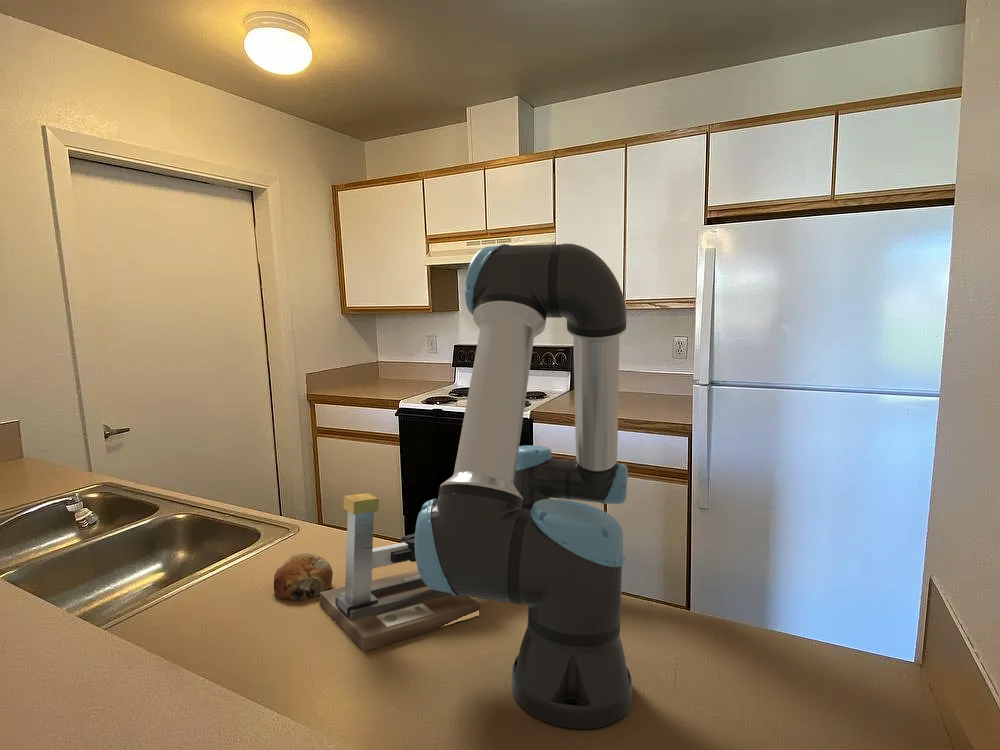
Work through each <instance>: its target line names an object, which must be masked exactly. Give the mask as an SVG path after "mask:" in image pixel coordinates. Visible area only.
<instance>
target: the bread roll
mask: <svg viewBox="0 0 1000 750" xmlns="http://www.w3.org/2000/svg"><path fill="white" fill-rule="evenodd" d="M273 577H274V578H273V592H274V594H275V595H276V596H277V597H278V598H280V599H283V600H290V601H298V600H300V601H303V600H306V599H307V600H308V599H312V598H315V597H318V596H320V592H323V591H327V590H329V589H330V588H331V587H332V583H333V569H332V566H331V565H330V563H329V561H327V560H326V558H323V557H321V556H320V555H317V554H316V553H312V552H305V553H294V554H293V555H291V556H290V557H289V558H288V559H286V560H285V561H284V562H283V563H282V564H281V565H280V566H278V567H277V569H276V572H274V576H273Z"/></svg>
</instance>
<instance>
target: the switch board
mask: <svg viewBox="0 0 1000 750" xmlns="http://www.w3.org/2000/svg"><path fill="white" fill-rule="evenodd" d="M371 594H372V595H374V596H375V597H376V598H377V599H378V604H374V605H370V606H366V607H363V608H359V609H355V610H351V611H350V614H349V615H347V614H346V613H345V612H344V611H343V610H342V609H341V608H340V607H339V606H338V605H337V602H338V597H342V596H345V586H342V587H338V588H332V589H328V590H327V591H323V592H320V595H319V605H320V606H321V607H322V609H323V610H324V611H325V612H326V613H327V614H328V615H329V616H330V618H332V619H333V621H335V622H336V624H337V625H338V626H339V627H340V628H341V629H342V631H343V632H345V634H347V636H348V637H349V638H350V639H351V640H352V641H353V642H354V644H356V645H357V646H358V648H359V649H360V650H361V651H362V652H363V653H364V652H367V651H370V650H374V649H377V648H380V647H384V646H387V645H389V644H390V645H391V644H393V643H397V642H400V641H404V640H406V639H410V638H413V637H416V636H419V635H422V634H423V635H424V634H426V633H430V632H433V631H435V630H438V629H437V628H439V629H441V628H440V627H442V626H444V625H445V624H448V623H450V622H452V621H454V620H457V619H459V618H461V617H463V616H466V615H468V614H471V613H473V612H476V611H478V610H480V609H481V608H480V606H481V604H480V603H479V602H477V600H475V599H473V598H472V597H468V596H454V595H452V594H451V593H446V592H441V591H437V590H433V589H431V588H429V587H428V586H427V585H426V584H425V583H424V582H423V580H422V579H421V577H420V574H419V572H418V569H416V570H412V571H408V572H404V573H399V574H395V575H389V576H385V577H382V578H377V579H372V580H371ZM442 628H443V627H442Z"/></svg>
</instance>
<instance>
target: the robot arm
mask: <svg viewBox="0 0 1000 750" xmlns="http://www.w3.org/2000/svg"><path fill="white" fill-rule="evenodd" d="M466 272H467V273H466V277H465V286H466V288H465V290H464V291H465V292H464V298H465V304H466V308H467V310H468V312H469V314H471V315H472V320H473V322H474V324H475V325H476V326H477V327H478V329H479V334H478V339H477V345H476V350H475V356H474V361H473V367H472V371H471V377H470V383H469V389H468V393H467V400H466V404H465V411H464V414H463V415H464V417H463V421H462V427H461V432H460V436H459V437H460V438H459V444H458V449H457V455H456V459H455V464H454V470H453V474H452V475H451V477H449V478H448V479H446V480H445V481H444V482H442V483H441V484H440V486H439V491H438V497H437V498H433V499H432V498H431V499H429V500H427V501H426V502H424V503H423V504H422V506H421V510H420V511H419V512H418V515H417V518H416V522H415V523H416V524H415V532H414V533H412V534H408V535H405V536H402V537H401V540H400V542H399V543H393V544H387V545H383V546H378V547H373V550H372V570H374V569H377V568H382V567H386V566H392V565H395V564H396V565H397V564H401V563H406V562H412V563H414V562H415V563H416V566H417V570H418V572H419V574H420V577H421V579H422V580H423V582H424V583H425V584H426V585H427V586H428V587H429V588H431V589H433V590H437V591H441V592H446V593H451V594H452V595H454V596H468V597H470V598H476V599H482V600H487V601H488V600H489V601H494V602H502V603H506V604H507V603H508V604H515V605H522V606H527V610H528V611H527V626H526V629H525V632H524V634H523V638H522V641H521V644H520V647H519V651H518V654H517V656H516V657H515V659H514V661H513V664H512V668H511V669H512V671H511V692H512V695H513V697H514V699H515V702H517V703H518V704H519V706H520V707H521V708H522V709H523V710H524V711H526V712H527V713H529V714H530V715H531V716H533V717H535V718H537V719H538V720H541V721H542V722H544V723H548V724H551V725H554V726H557V727H562V728H566V729H567V728H568V729H573V730H574V729H576V730H590V729H597V728H598V729H599V728H603V727H606V726H607V727H608V726H609V725H613V724H614V723H617V722H618V721H620V720H621V719H623V717H625V716H626V715H627V713H628V712H629V710H630V709H631V706H632V703H633V702H632V701H633V700H632V699H633V680H632V676H631V672H630V670H629V668H628V667H627V661H626V657H625V653H624V652H625V651H624V648H623V644H622V640H621V639H622V638H621V619H622V618H621V617H622V615H621V614H622V589H623V587H622V586H623V585H622V584H623V566H624V565H625V560H626V557H625V553H624V531H623V528H622V526H621V524H620V522H619V521H618V520H617V519H616V518H615V517H614V516H612V515H611V514H610V513H608V512H607V511H605V510H602V509H601V508H599V507H595V506H592V505H590V504H587V503H586V504H585V503H582V502H589V503H600V504H601V505H604V504H607V505H612V504H613V505H621V504H624V503H625V502H626V500H627V497H628V496H627V493H628V479H629V478H628V472H629V471H628V470H629V469H628V466H627V465H626V464H623V463H619V462H618V441H619V440H618V436H619V435H618V434H619V433H618V431H619V429H618V428H619V427H618V425H619V390H620V389H619V386H620V382H619V381H620V380H619V379H620V377H619V376H620V336H622V334H624V333H625V332H626V329H627V307H626V301H625V297H624V293H623V290H622V289H621V287H620V284H619V281H618V280H617V277H616V276H615V274H614V273H613V271H612V269H611V268H610V267H609V266H608V264H607V263H606V262H605V261H604V260H603V259H602V258H601V257H600V256H599V255H598V254H597V253H595V252H594V251H592V250H591V249H589V248H586V247H584V246H582V245H579V244H576V243H561V244H521V245H520V244H519V245H510V244H505V243H502V244H499V245H490V246H489V245H488V246H485V247H482V248H480V249H479V250H478V251H477V252H476V253H475V254H474V255H473V257H472V259H471V260H470V263H469V266H468V269H467V271H466ZM547 318H549V319H550V318H555V319H556V318H559V319H561V318H565V319H566V331H567V332H568V333H569V334H570V335H571V337H572V338H573V339H572V340H573V375H574V376H573V379H574V380H573V381H574V382H573V383H574V384H573V385H574V388H573V389H574V390H573V391H574V423H575V424H574V429H575V434H574V435H575V437H574V438H575V460H574V459H566V458H565V459H563V458H555V457H553V455H552V449H551V448H549V447H547V446H541V445H532V444H531V445H520V442H521V436H522V435H521V434H522V427H523V421H524V420H523V419H524V414H525V407H526V400H527V399H526V397H527V391H528V384H529V383H528V382H529V377H530V370H531V363H532V355H533V347H534V342H535V340H534V339H535V338H536V337H538V336H539V335H541V334H542V333H543V332H544V331H545V329H546V322H547ZM578 501H581V502H578Z"/></svg>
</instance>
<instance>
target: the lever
mask: <svg viewBox="0 0 1000 750" xmlns="http://www.w3.org/2000/svg"><path fill="white" fill-rule="evenodd" d="M379 501H380V500H379V497H376V496H374V495H372V494H371V493H369V492H365V493H356V494H351V495H350V494H349V495H343V509H344V510H345V511H347V521H346V522H347V523H346V525H347V527H346V532H347V533H346V551H345V552H346V554H345V555H346V557H345V558H346V559H345V585H344V587H345V596H342V597H338V602H337V605H338V606H339V607H340V608H341V609H342V610H343V611H344V612H345V613H346V614H347V615H349V614H350V611H351V610H355V609H359V608H363V607H366V606H370V605H374V604H378V599H377V598H376V597H375V596H374V595H372V594H371V581H372V580H373V579H372V578H373V576H372V575H373V573H372V571H373V569H372V550H373V548H374V546H373V544H374V543H373V542H374V521H375V520H374V516H375V515H374V513H375V512H379Z"/></svg>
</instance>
